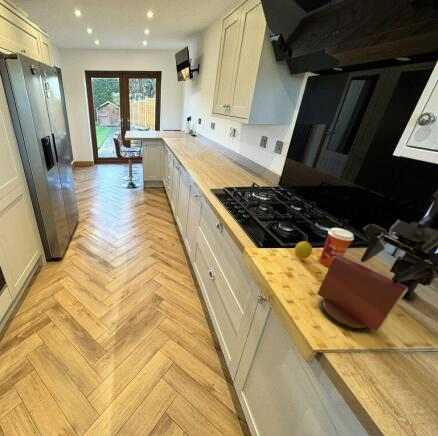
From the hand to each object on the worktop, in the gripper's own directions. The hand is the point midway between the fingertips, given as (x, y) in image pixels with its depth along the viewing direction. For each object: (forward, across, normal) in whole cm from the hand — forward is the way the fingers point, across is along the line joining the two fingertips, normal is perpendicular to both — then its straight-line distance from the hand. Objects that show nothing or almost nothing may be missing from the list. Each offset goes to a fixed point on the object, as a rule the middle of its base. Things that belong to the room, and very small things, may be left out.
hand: (376, 270), depth 61 cm
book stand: (+14, 0, +9) cm, 17 cm away
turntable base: (+14, 0, +9) cm, 17 cm away
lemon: (+8, -27, +16) cm, 33 cm away
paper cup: (+2, -23, +23) cm, 33 cm away
